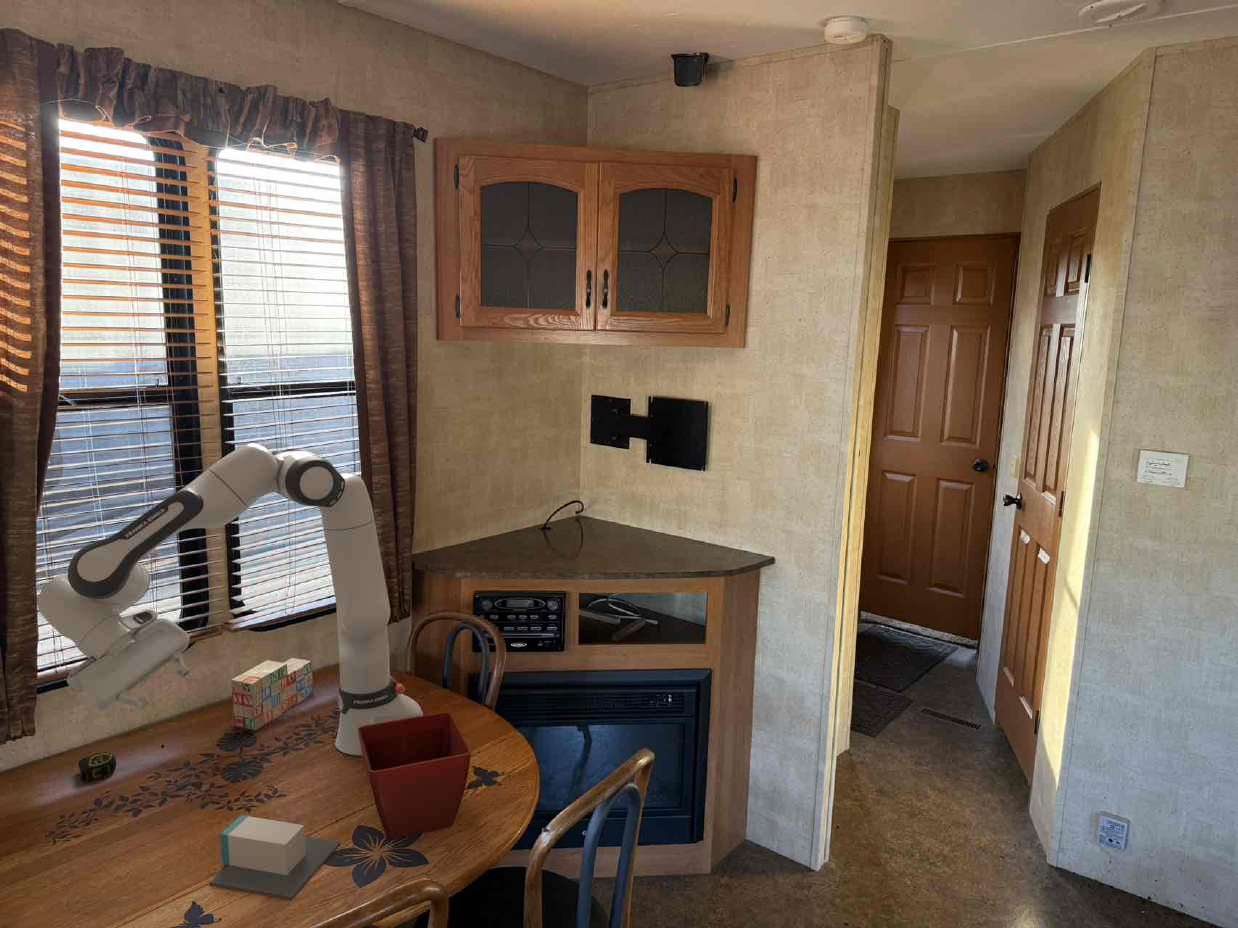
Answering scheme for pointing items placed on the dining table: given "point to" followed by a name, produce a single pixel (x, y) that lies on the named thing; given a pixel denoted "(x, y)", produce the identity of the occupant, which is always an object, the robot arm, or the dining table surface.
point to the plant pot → (416, 772)
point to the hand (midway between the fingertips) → (166, 690)
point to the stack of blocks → (269, 691)
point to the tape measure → (97, 766)
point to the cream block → (263, 844)
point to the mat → (276, 882)
